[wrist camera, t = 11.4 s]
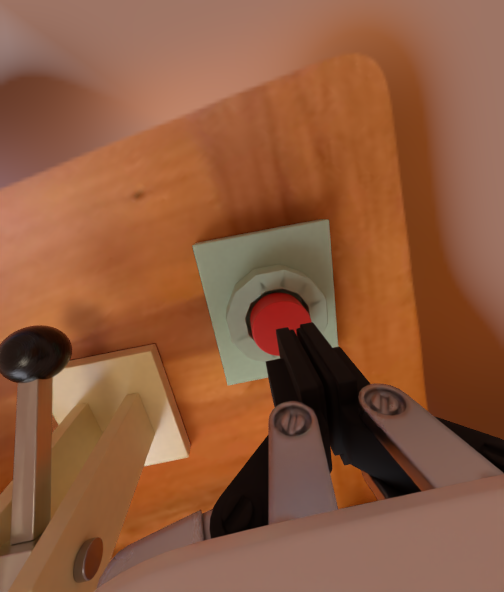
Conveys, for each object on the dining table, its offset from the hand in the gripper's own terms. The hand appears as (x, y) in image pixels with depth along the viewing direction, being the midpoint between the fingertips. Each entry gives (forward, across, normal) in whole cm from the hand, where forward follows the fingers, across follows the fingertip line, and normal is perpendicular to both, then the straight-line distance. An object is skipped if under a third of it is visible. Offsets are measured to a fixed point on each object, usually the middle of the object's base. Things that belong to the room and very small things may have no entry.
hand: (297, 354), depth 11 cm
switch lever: (+2, +14, +4) cm, 15 cm away
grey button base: (+8, 0, +1) cm, 8 cm away
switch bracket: (+8, +14, +8) cm, 18 cm away
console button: (+5, 0, +1) cm, 5 cm away
